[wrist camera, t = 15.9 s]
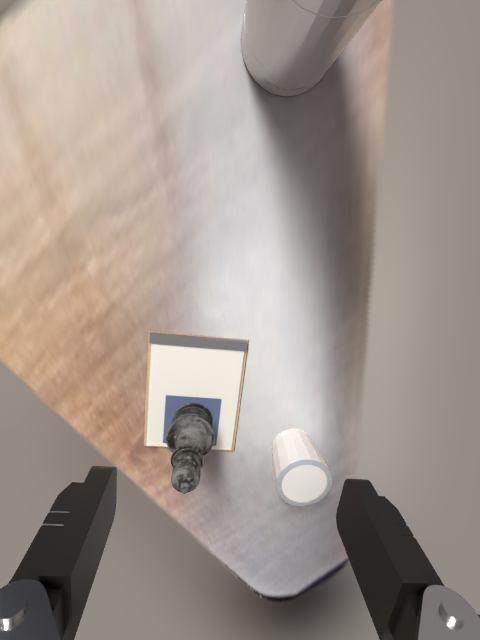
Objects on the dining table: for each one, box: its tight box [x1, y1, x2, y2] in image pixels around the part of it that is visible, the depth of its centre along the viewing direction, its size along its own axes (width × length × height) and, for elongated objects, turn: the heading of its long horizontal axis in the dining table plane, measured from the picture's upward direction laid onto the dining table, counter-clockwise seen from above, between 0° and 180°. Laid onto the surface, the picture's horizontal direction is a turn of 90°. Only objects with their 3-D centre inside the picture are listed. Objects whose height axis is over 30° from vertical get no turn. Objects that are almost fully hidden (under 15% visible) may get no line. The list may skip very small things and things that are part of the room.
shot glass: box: [272, 429, 332, 506], centre depth 43 cm, size 7×7×7 cm
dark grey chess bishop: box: [165, 403, 215, 494], centre depth 38 cm, size 6×6×12 cm
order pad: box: [144, 331, 248, 451], centre depth 43 cm, size 16×12×1 cm
